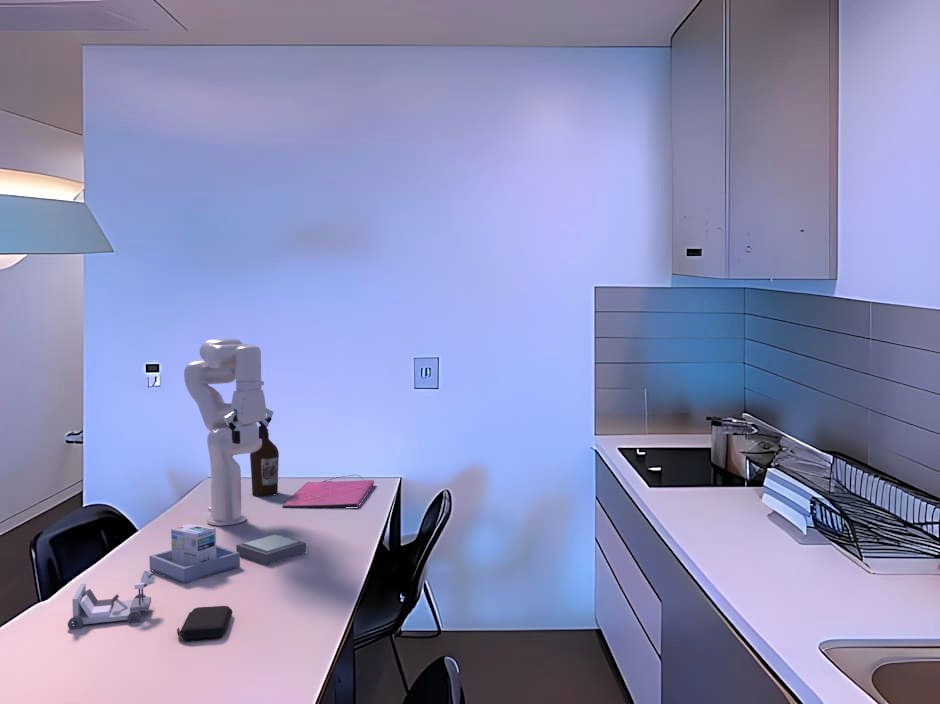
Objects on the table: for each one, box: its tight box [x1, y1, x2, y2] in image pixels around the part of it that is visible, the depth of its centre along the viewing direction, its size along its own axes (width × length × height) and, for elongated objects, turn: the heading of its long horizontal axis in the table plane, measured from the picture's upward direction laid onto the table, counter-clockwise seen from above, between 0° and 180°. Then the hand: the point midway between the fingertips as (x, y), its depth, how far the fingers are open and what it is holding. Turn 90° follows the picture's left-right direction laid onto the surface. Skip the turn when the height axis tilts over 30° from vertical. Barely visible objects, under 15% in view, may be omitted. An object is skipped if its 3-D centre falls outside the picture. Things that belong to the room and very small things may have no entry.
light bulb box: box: [170, 522, 217, 567], centre depth 215 cm, size 11×7×11 cm, turn 62°
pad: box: [243, 534, 299, 553], centre depth 228 cm, size 11×11×2 cm
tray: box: [148, 544, 241, 585], centre depth 215 cm, size 17×17×4 cm
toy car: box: [67, 569, 158, 631], centre depth 183 cm, size 18×10×12 cm
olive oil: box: [249, 428, 280, 498], centre depth 299 cm, size 11×11×25 cm
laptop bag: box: [281, 474, 375, 509], centre depth 298 cm, size 40×4×27 cm
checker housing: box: [235, 533, 307, 566], centre depth 228 cm, size 14×14×3 cm
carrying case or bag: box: [176, 605, 233, 642], centre depth 176 cm, size 11×3×15 cm
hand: (249, 441), depth 242 cm, fingers open, 9 cm apart
